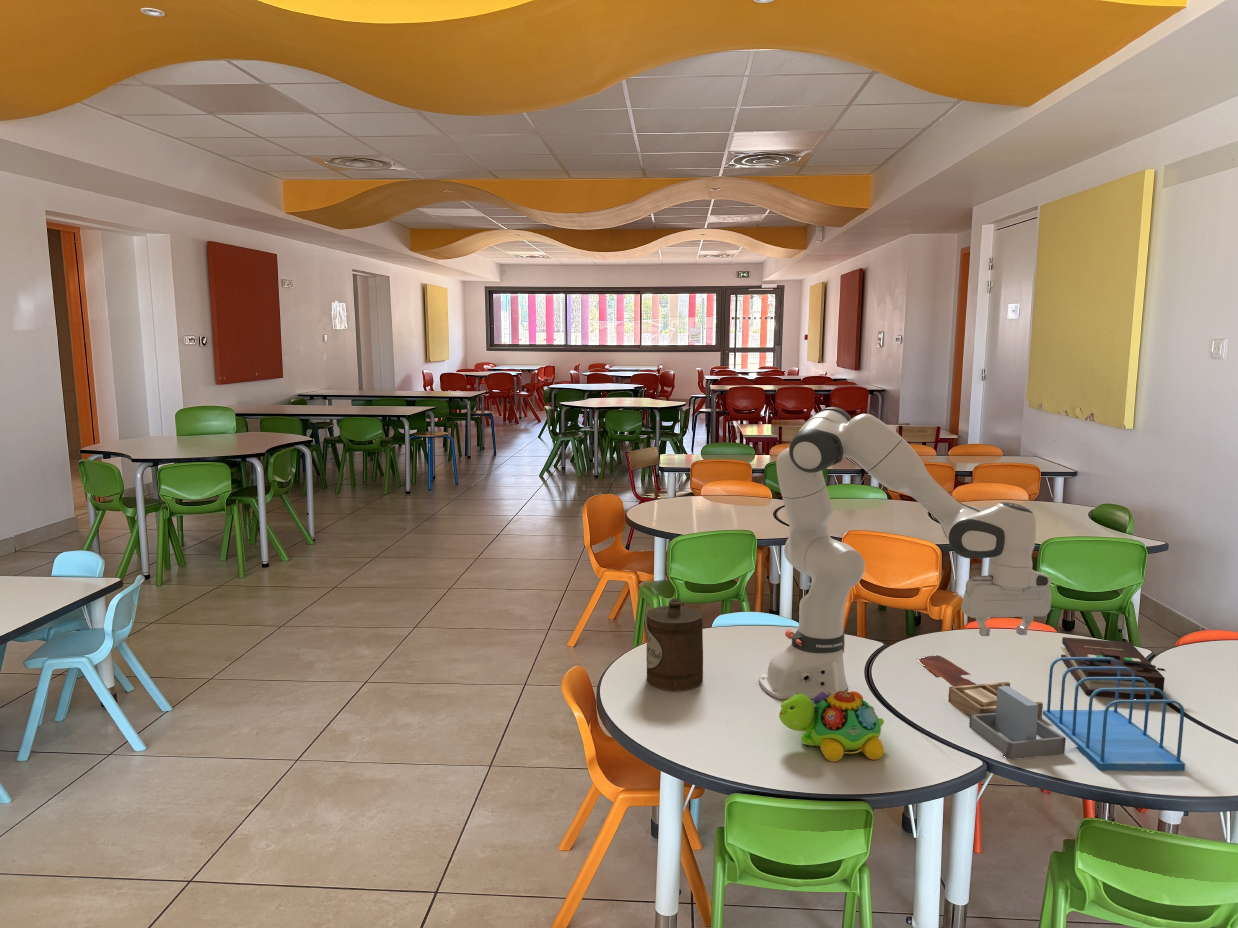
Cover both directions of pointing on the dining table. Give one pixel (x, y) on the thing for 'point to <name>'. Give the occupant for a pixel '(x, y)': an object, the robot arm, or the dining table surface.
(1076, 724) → the file sorter
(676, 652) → the wooden container
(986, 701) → the offcut slab upper
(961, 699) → the divided wooden box
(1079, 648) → the decorative book
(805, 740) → the turtle toy
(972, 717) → the tray
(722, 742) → the dining table surface
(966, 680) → the wooden tablet
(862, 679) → the dining table surface
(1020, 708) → the grey square block
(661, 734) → the dining table surface
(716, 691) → the dining table surface
